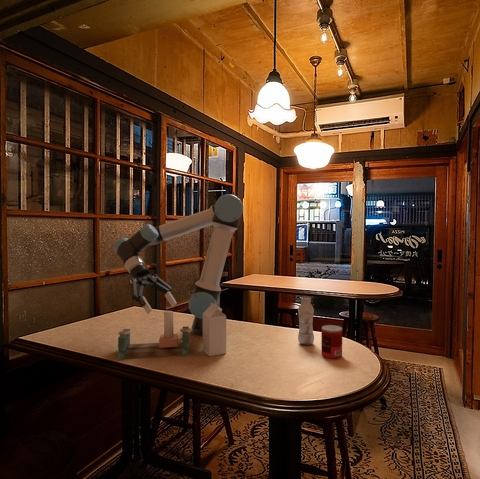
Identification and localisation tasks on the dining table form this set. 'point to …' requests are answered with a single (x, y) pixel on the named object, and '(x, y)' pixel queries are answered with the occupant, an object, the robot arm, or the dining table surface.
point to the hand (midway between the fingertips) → (162, 308)
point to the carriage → (168, 332)
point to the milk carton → (214, 331)
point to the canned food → (331, 342)
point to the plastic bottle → (306, 321)
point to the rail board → (151, 346)
